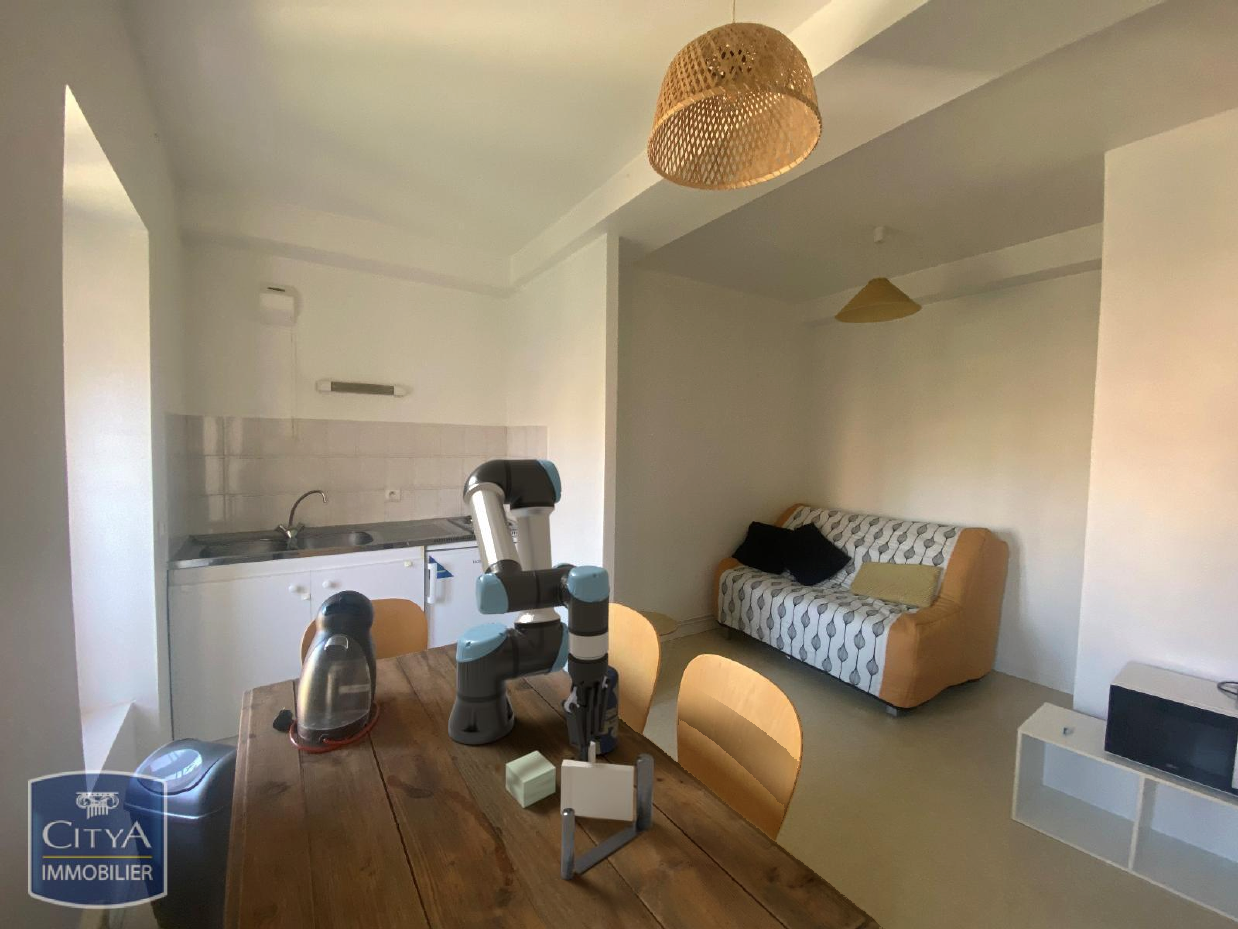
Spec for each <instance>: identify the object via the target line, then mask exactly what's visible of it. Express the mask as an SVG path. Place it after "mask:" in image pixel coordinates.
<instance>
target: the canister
mask: <svg viewBox="0 0 1238 929" xmlns="http://www.w3.org/2000/svg"><path fill="white" fill-rule="evenodd" d="M618 672H619V671H618V670H617V669H616V668H614V667H613V666H611V665H609V664H608V673H607V674H606V675H605V676H606V677H609V678H612V683H611V687H610V690H609V696H608V703H607V710H606V717H605V725H604V730H603V732H602V733H599V736H600V737H602V739H601V741H600V742H597V741H596V755H601V754H606V753H609V752H610V751H612V750H614V749H615V747H616V746H617V744H618V742H619V741H618V739H619V708H620V707H619V705H620V704H619V702H620V699H619V698H620V696H619V695H620V692H619V691H620V690H619V688H620V685H619V684H620V681H619V680H620V679H619V678H620V676H619V673H618ZM602 689H603V688H602Z"/></svg>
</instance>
